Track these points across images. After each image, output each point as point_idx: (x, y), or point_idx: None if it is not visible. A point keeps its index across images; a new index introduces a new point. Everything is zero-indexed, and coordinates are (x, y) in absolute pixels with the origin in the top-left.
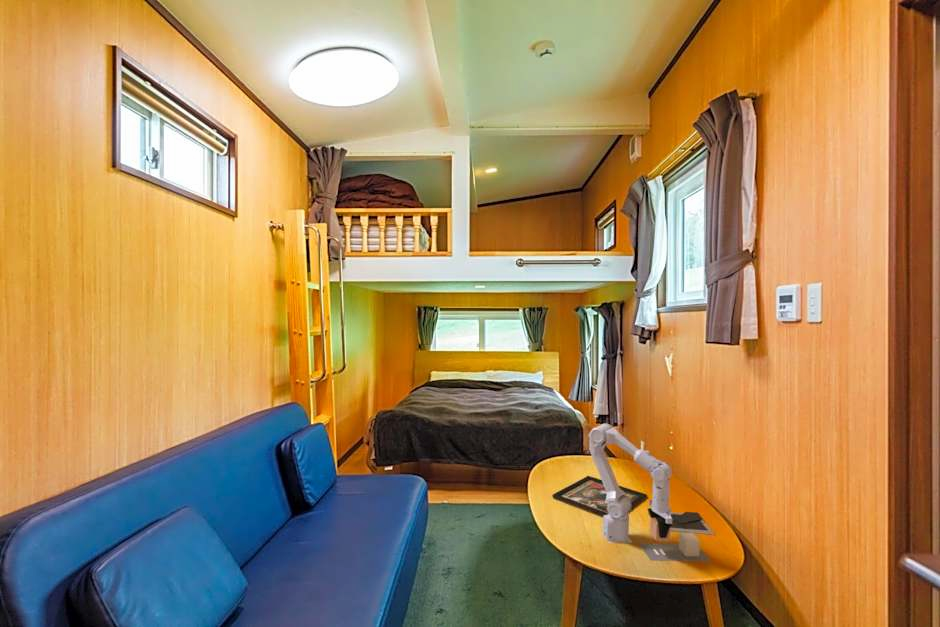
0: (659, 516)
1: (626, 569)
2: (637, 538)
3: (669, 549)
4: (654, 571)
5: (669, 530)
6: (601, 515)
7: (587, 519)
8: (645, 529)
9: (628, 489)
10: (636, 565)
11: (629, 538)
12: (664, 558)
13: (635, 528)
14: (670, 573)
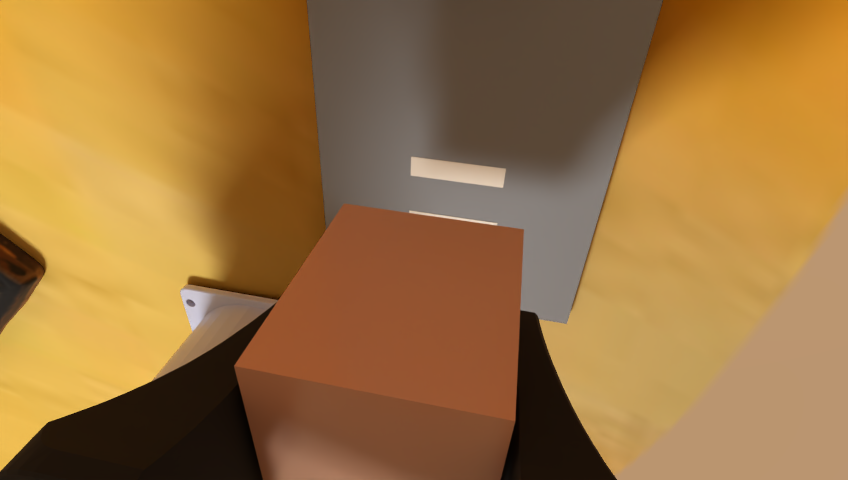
0: (230, 437)
1: (608, 462)
2: (239, 235)
3: (417, 76)
4: (682, 351)
5: (517, 337)
6: (7, 321)
7: (86, 387)
8: (62, 92)
9: None
10: (583, 405)
11: (269, 305)
12: (562, 213)
13: (80, 171)
14: (754, 266)
